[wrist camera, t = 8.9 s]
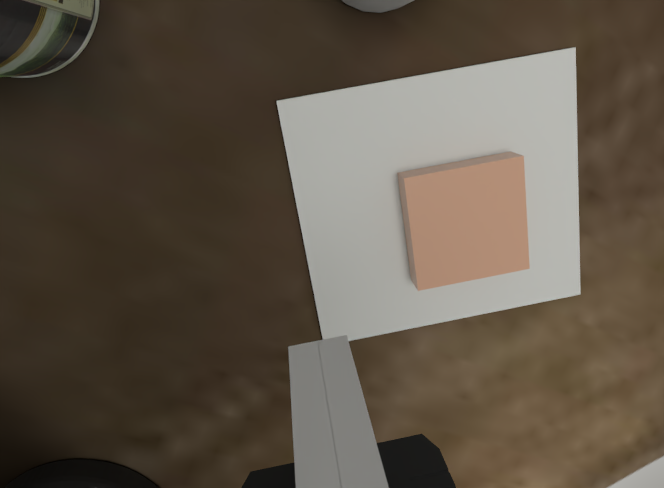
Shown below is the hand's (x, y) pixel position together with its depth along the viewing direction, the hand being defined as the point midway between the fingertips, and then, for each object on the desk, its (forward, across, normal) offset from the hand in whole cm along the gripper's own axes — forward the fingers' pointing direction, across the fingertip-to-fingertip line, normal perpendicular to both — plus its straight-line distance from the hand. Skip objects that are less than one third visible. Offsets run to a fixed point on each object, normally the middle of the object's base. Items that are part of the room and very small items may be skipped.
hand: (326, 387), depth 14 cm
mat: (+24, +10, -3) cm, 27 cm away
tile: (+23, +7, -4) cm, 24 cm away
